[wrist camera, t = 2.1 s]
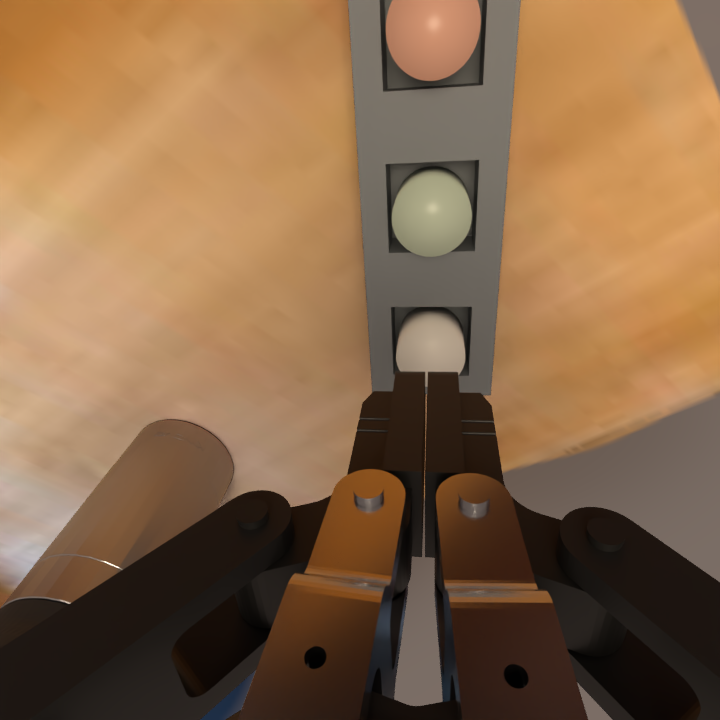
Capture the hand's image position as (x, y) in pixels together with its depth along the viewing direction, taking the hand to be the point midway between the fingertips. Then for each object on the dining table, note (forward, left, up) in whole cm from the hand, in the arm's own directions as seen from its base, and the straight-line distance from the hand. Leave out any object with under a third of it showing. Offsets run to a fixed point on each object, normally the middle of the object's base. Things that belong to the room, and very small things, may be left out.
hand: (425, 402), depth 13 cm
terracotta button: (+8, +3, -20) cm, 22 cm away
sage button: (0, 0, -20) cm, 20 cm away
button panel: (0, 0, -23) cm, 23 cm away
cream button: (-8, -3, -20) cm, 22 cm away
